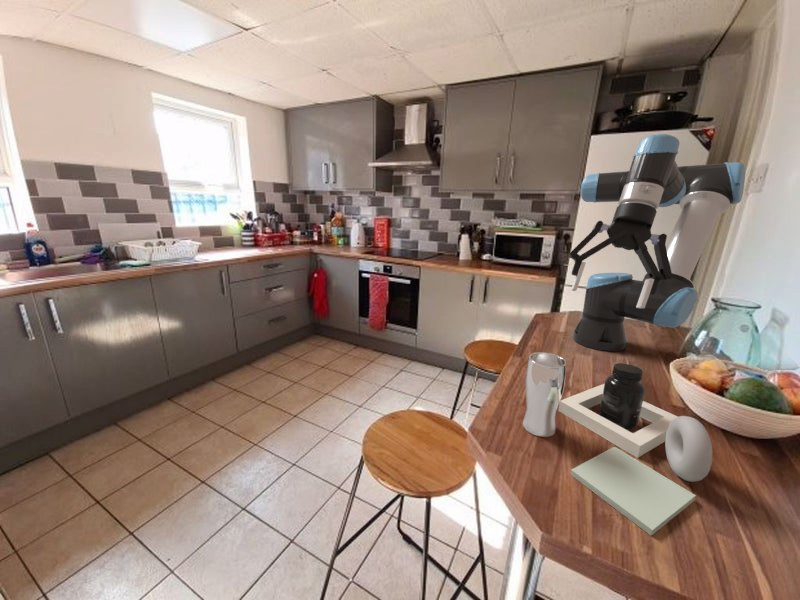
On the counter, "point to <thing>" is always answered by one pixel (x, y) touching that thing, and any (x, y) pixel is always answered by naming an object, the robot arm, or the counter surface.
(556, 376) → the beer glass
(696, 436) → the donut
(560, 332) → the counter surface
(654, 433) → the holder
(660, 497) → the mat
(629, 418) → the supplement bottle
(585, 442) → the counter surface
